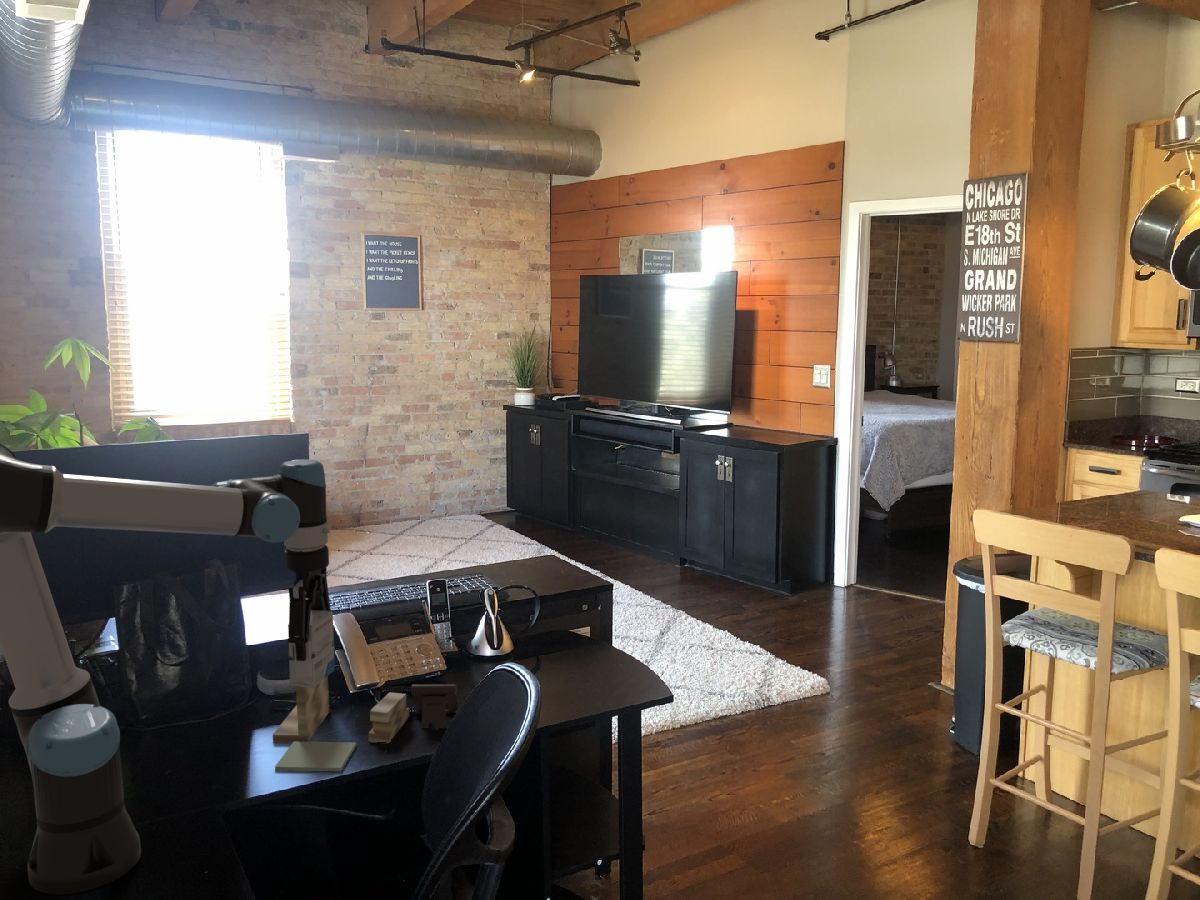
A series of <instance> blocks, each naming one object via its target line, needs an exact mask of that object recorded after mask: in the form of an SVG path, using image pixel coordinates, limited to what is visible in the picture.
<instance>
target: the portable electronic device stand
mask: <svg viewBox="0 0 1200 900" xmlns="http://www.w3.org/2000/svg"><path fill="white" fill-rule="evenodd" d="M457 688H458V687H457V683H451V684H450V683H447V684H446V683H443V684H441V683H439V684H438V683H437V684H436V683H435V684H434V683H429V684H428V683H427V684H417V683H416V684H412V685H411V689H410V691H411V696H413V698H414V706H415V713H416V715H420V714H422V715H421V724H420V725H421V726H420V727H421V728H422V727H423V728H425V727H428V728H429V727H430V723H437V728H438V727H441V726H442V727H445V728H446V721H447V720H446V719H447V717H446V716H447V715H453V714H452V713H455V711H456V710H457V709H458V708H459V709H460V702H459V701H458V691H457ZM423 728H422V729H423Z"/></svg>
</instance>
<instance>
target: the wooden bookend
mask: <svg viewBox="0 0 1200 900" xmlns="http://www.w3.org/2000/svg"><path fill="white" fill-rule="evenodd" d="M328 676H329V675H328ZM328 676H327V677H326V678H325V679H323V680H322V681H321V682H320V683H319V684H317V685H316V686H315V687H314V688H307V687H299V686H295V693H296V695H295V696H296V705H295V707H294V708H293V709H292V710H291V711H290V712H289V713H288V715H287V716H286V718H285V719H284V720H283V721H282V722H281V724H280V725H279V726H278V727H277V728H276V730H275V731H274V732H273V734H272V743H273V744H276V743H278V744H279V743H280V744H282V743H283V744H284V743H285V744H286V743H287V744H288V743H289V744H292V743H293V742H294V741H298V742H310V740H311V738H312V737H313V736H314V735H315V732H317V730H318V729H319V727H320V726H321V724H322V723H323V722H324V720H325V719H326V717H327V716H328V714H329V713H330V697H329V677H328Z"/></svg>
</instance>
